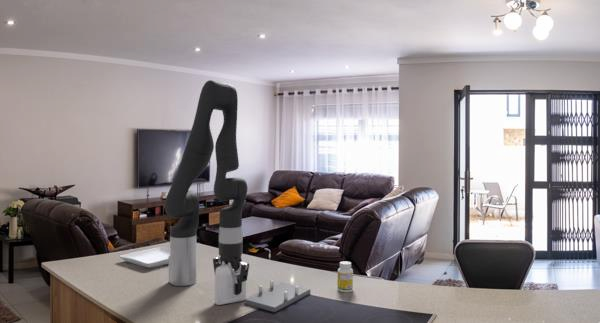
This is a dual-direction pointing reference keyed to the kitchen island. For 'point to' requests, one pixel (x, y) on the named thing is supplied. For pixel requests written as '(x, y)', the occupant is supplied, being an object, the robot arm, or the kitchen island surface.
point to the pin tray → (276, 296)
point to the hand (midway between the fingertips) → (230, 292)
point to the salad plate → (149, 257)
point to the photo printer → (227, 286)
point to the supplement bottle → (345, 277)
